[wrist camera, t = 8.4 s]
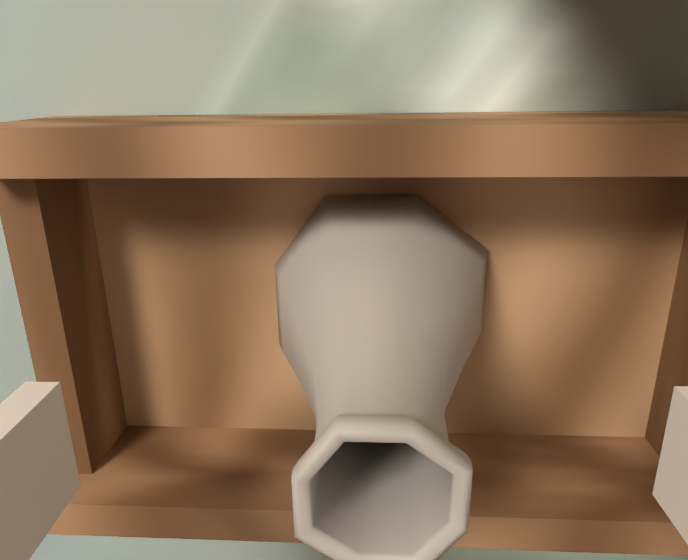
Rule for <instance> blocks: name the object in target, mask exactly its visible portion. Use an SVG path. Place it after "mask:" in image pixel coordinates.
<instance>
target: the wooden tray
mask: <svg viewBox="0 0 688 560" xmlns="http://www.w3.org/2000/svg"><path fill="white" fill-rule="evenodd" d="M325 196H418V197H419V198H421V199H422V200H423V201H425V202H426V203H427V204H429V205H430V206H431V207H433V208H434V209H435V210H437V211H438V212H439V213H441V214H442V215H443V216H445V217H446V218H447V219H449V220H450V221H451V222H453V223H454V224H455V225H457V226H458V227H459V228H461V229H462V230H463V231H465V232H466V233H467V234H469V235H470V236H471V237H472V238H474V239H475V240H476V241H478V242H479V243H480V244H482V245H483V246H484V247H486V248H487V263H486V277H485V290H484V304H483V318H482V331H481V333H480V336H479V338H478V340H477V342H476V344H475V346H474V348H473V350H472V352H471V353H470V355H469V357H468V359H467V361H466V363H465V365H464V367H463V369H462V371H461V373H460V376H459V378H458V381H457V383H456V385H455V388H454V390H453V392H452V395H451V397H450V400H449V402H448V404H447V407H446V409H445V422H446V428H447V434H448V440H449V442H450V443H451V444H453V445H454V446H456V447H457V448H459V449H460V450H462V451H463V452H464V453H466V454H467V456H468V457H469V459H470V460H471V462H472V468H473V474H472V487H471V501H470V514H469V528H468V532H467V533H466V534H464V535H463V536H462V537H461V538H460V539H459V540H458V541H457V542H456V543H455V544H454V545H453V546H452V547H451V548H473V549H503V550H532V551H561V552H591V553H620V554H650V555H679V556H688V545H687V543H686V542H685V540H684V539H683V538H682V536H681V535H680V533H679V532H678V530H677V529H676V528H675V526H674V525H673V523H672V522H671V520H670V519H669V518H668V516H667V515H666V513H665V512H664V510H663V509H662V507H661V506H660V505H659V503H658V502H657V500H656V499H655V497H654V496H653V495H652V493H653V488H654V483H655V478H656V473H657V468H658V464H659V459H660V454H661V449H662V444H663V439H664V434H665V429H666V424H667V419H668V414H669V409H670V405H671V400H672V395H673V390H674V386H688V110H676V111H573V112H469V113H365V114H262V115H158V116H54V117H45V118H36V119H28V120H19V121H10V122H2V123H0V216H1V221H2V225H3V230H4V234H5V239H6V244H7V248H8V253H9V257H10V262H11V266H12V271H13V275H14V280H15V285H16V289H17V294H18V298H19V303H20V307H21V312H22V316H23V321H24V326H25V330H26V335H27V339H28V344H29V348H30V353H31V357H32V362H33V366H34V371H35V376H36V380H37V382H60V385H61V390H62V395H63V400H64V405H65V410H66V415H67V420H68V425H69V430H70V435H71V440H72V445H73V450H74V455H75V460H76V465H77V470H78V475H79V480H80V485H81V486H80V488H79V489H78V491H77V492H76V494H75V495H74V496H73V498H72V499H71V501H70V502H69V503H68V505H67V506H66V508H65V509H64V511H63V512H62V513H61V515H60V516H59V518H58V519H57V520H56V522H55V523H54V525H53V526H52V528H51V529H50V530H49V532H48V533H47V534H61V535H91V536H120V537H149V538H179V539H208V540H238V541H267V542H297V543H304V542H302V541H300V540H299V539H297V538H295V537H294V519H293V500H292V482H291V476H292V469H293V468H294V466H295V464H296V463H297V461H298V460H299V459H300V458H301V457H302V455H303V454H304V453H305V452H306V451H307V450H308V448H309V447H310V446H311V445H312V444H313V443H314V441H315V435H316V420H315V415H314V413H313V411H312V409H311V406H310V404H309V402H308V400H307V397H306V395H305V393H304V391H303V388H302V386H301V384H300V382H299V380H298V377H297V376H296V374H295V372H294V370H293V369H292V367H291V365H290V363H289V362H288V360H287V358H286V356H285V355H284V353H283V351H282V349H281V346H280V344H279V330H278V313H277V296H276V278H275V264H276V263H277V261H278V260H279V259H280V257H281V256H282V254H283V253H284V252H285V250H286V249H287V248H288V246H289V245H290V243H291V242H292V241H293V239H294V238H295V236H296V235H297V234H298V232H299V231H300V230H301V228H302V227H303V225H304V224H305V223H306V221H307V220H308V219H309V217H310V216H311V214H312V213H313V212H314V210H315V209H316V208H317V206H318V205H319V203H320V202H321V201H322V199H323V198H324V197H325Z"/></svg>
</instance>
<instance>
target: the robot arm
mask: <svg viewBox="0 0 688 560" xmlns="http://www.w3.org/2000/svg"><path fill="white" fill-rule="evenodd" d="M80 486H81V485H80V480H79V475H78V470H77V465H76V460H75V455H74V450H73V445H72V440H71V435H70V430H69V425H68V420H67V415H66V410H65V405H64V400H63V395H62V390H61V385H60V382H25V383H23V384H22V385H21V386H20V387H19V388H18V389H17V390H15V391H14V392H13V393H12V394H11V395H10V396H9V397H7V398H6V399H5V400H4V401H3V402H2V403H1V404H0V560H29V559H30V557H31V556H32V554H33V553H34V552H35V550H36V549H37V547H38V546H39V545H40V543H41V542H42V540H43V539H44V537H45V536H46V535H47V533H48V532H49V530H50V529H51V528H52V526H53V525H54V523H55V522H56V520H57V519H58V518H59V516H60V515H61V513H62V512H63V511H64V509H65V508H66V506H67V505H68V503H69V502H70V501H71V499H72V498H73V496H74V495H75V494H76V492H77V491H78V489H79V488H80ZM652 495H653V496H654V497H655V499H656V500H657V502H658V503H659V505H660V506H661V507H662V509H663V510H664V512H665V513H666V515H667V516H668V518H669V519H670V520H671V522H672V523H673V525H674V526H675V528H676V529H677V530H678V532H679V533H680V535H681V536H682V538H683V539H684V540H685V542H686V543H687V545H688V386H674V390H673V395H672V400H671V405H670V409H669V414H668V419H667V424H666V429H665V434H664V439H663V444H662V449H661V454H660V459H659V464H658V468H657V473H656V478H655V483H654V488H653V493H652Z"/></svg>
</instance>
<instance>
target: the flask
mask: <svg viewBox="0 0 688 560" xmlns="http://www.w3.org/2000/svg"><path fill="white" fill-rule="evenodd" d="M486 263H487V248H486V247H484V246H483V245H482V244H480V243H479V242H478V241H476V240H475V239H474V238H472V237H471V236H470V235H469V234H467V233H466V232H465V231H463V230H462V229H461V228H459V227H458V226H457V225H455V224H454V223H453V222H451V221H450V220H449V219H447V218H446V217H445V216H443V215H442V214H441V213H439V212H438V211H437V210H435V209H434V208H433V207H431V206H430V205H429V204H427V203H426V202H425V201H423V200H422V199H421V198H419V197H418V196H325V197H324V198H323V199H322V201H321V202H320V203H319V205H318V206H317V208H316V209H315V210H314V212H313V213H312V214H311V216H310V217H309V219H308V220H307V221H306V223H305V224H304V225H303V227H302V228H301V230H300V231H299V232H298V234H297V235H296V236H295V238H294V239H293V241H292V242H291V243H290V245H289V246H288V248H287V249H286V250H285V252H284V253H283V254H282V256H281V257H280V259H279V260H278V261H277V263H276V264H275V278H276V296H277V313H278V330H279V344H280V346H281V349H282V351H283V353H284V355H285V356H286V358H287V360H288V362H289V363H290V365H291V367H292V369H293V370H294V372H295V374H296V376H297V377H298V380H299V382H300V384H301V386H302V388H303V391H304V393H305V395H306V397H307V400H308V402H309V404H310V406H311V409H312V411H313V413H314V415H315V420H316V435H315V441H314V443H313V444H312V445H311V446H310V447H309V448H308V450H307V451H306V452H305V453H304V454H303V455H302V457H301V458H300V459H299V460H298V461H297V463H296V464H295V466H294V468H293V469H292V476H291V482H292V500H293V519H294V537H295V538H297V539H299V540H300V541H302V542H304V543H305V544H307V545H308V546H310V547H312V548H313V549H315V550H317V551H318V552H320V553H322V554H323V555H325V556H327V557H328V558H330V559H331V560H438V559H439V558H440V557H441V556H442V555H443V554H444V553H445V552H446V551H448V550H449V549H450V548H451V547H452V546H453V545H454V544H455V543H456V542H457V541H458V540H459V539H460V538H461V537H462V536H463V535H464V534H466V533H467V532H468V528H469V514H470V501H471V487H472V474H473V468H472V462H471V460H470V459H469V457H468V456H467V454H466V453H464V452H463V451H462V450H460V449H459V448H457V447H456V446H454V445H453V444H451V443H450V442H449V440H448V434H447V428H446V422H445V409H446V407H447V404H448V402H449V400H450V397H451V395H452V392H453V390H454V388H455V385H456V383H457V381H458V378H459V376H460V373H461V371H462V369H463V367H464V365H465V363H466V361H467V359H468V357H469V355H470V353H471V352H472V350H473V348H474V346H475V344H476V342H477V340H478V338H479V336H480V333H481V331H482V318H483V304H484V290H485V277H486Z"/></svg>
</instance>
